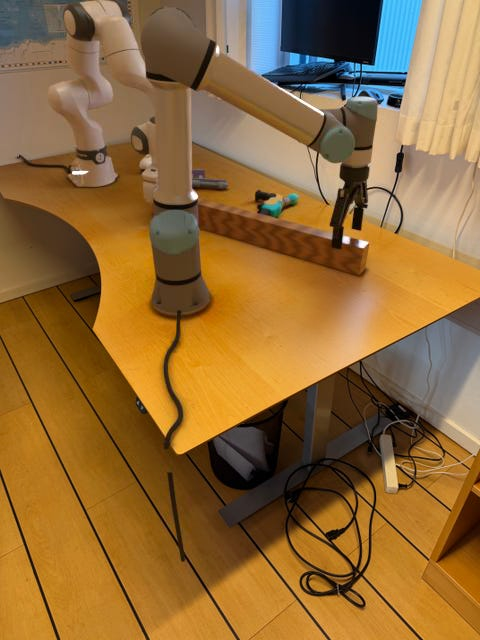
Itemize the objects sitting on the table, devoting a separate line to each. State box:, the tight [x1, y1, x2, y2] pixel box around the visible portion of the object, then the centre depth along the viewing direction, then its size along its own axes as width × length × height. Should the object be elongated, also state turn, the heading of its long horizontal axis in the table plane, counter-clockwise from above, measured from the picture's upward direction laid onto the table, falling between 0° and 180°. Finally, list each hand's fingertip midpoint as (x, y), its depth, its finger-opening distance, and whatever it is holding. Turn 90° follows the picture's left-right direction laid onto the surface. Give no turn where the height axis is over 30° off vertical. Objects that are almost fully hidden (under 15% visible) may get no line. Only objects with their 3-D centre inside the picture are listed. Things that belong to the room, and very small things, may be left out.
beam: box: [151, 197, 370, 276], centre depth 153 cm, size 79×4×9 cm, turn 56°
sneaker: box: [139, 155, 152, 171], centre depth 214 cm, size 10×29×12 cm, turn 163°
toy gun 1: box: [192, 168, 229, 190], centre depth 195 cm, size 4×19×15 cm
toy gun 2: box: [254, 189, 299, 218], centre depth 172 cm, size 4×26×15 cm
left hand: (169, 207), depth 169 cm, fingers closed on beam, 4 cm apart
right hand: (346, 238), depth 135 cm, fingers open, 13 cm apart
